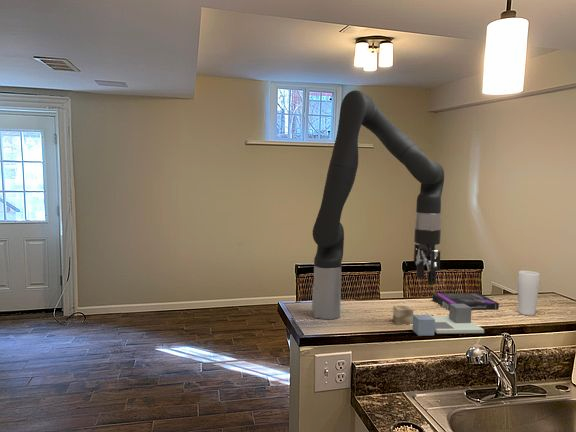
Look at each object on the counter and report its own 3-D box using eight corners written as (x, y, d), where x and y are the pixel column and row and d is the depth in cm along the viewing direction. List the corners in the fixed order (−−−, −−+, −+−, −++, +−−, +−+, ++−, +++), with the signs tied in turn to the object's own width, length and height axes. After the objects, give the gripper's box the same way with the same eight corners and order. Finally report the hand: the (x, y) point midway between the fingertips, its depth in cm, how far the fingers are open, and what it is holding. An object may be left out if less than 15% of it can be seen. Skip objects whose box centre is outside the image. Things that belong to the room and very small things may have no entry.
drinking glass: (536, 312, 160) (539, 271, 159) (538, 317, 154) (540, 275, 153) (515, 310, 163) (517, 269, 162) (516, 315, 157) (518, 273, 156)
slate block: (418, 335, 134) (418, 319, 134) (412, 330, 139) (412, 314, 139) (434, 335, 135) (434, 319, 134) (427, 330, 140) (428, 314, 139)
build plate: (437, 333, 136) (437, 314, 136) (419, 319, 150) (420, 301, 150) (484, 332, 138) (485, 313, 137) (462, 318, 152) (463, 301, 151)
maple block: (397, 325, 144) (398, 310, 144) (392, 320, 149) (393, 305, 149) (412, 325, 145) (413, 310, 144) (407, 320, 150) (408, 305, 149)
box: (448, 313, 162) (499, 311, 163) (448, 303, 161) (499, 301, 163) (432, 302, 175) (479, 300, 177) (432, 293, 175) (479, 291, 177)
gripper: (407, 225, 142) (405, 275, 143) (425, 230, 127) (422, 286, 129) (430, 225, 142) (428, 275, 144) (450, 230, 128) (447, 286, 129)
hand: (425, 280), depth 136 cm, fingers open, 8 cm apart
